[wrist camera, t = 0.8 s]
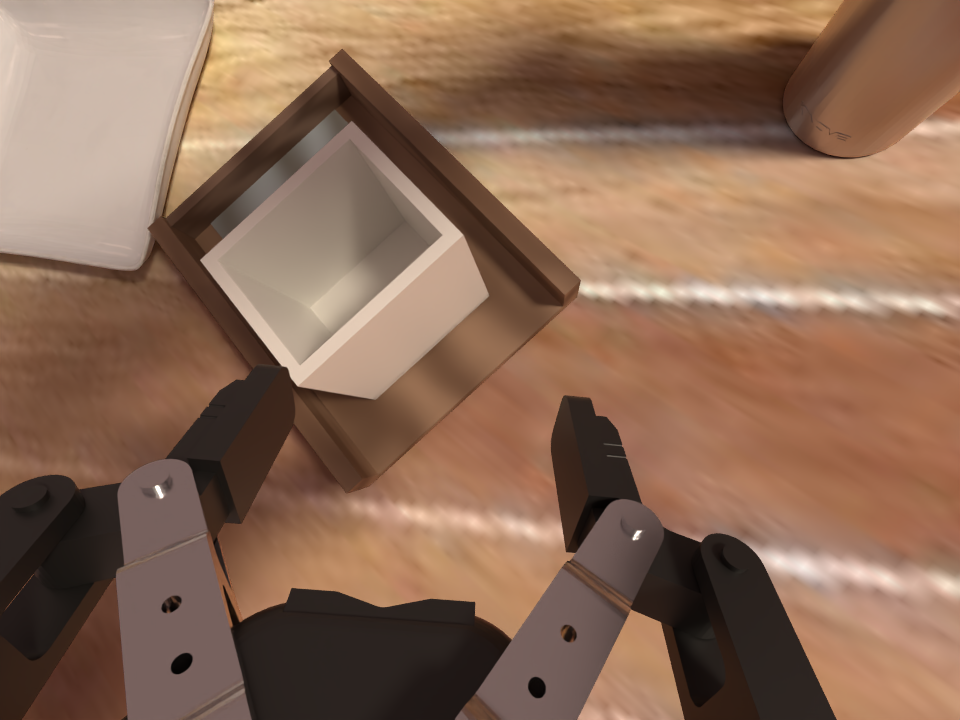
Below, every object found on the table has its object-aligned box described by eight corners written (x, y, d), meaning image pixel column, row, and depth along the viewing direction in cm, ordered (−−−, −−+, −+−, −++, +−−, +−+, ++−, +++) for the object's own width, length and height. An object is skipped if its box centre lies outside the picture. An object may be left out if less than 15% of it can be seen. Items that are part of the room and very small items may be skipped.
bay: (362, 85, 40) (342, 48, 36) (577, 297, 34) (580, 280, 30) (185, 247, 40) (147, 228, 37) (369, 486, 35) (346, 493, 31)
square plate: (241, 24, 44) (212, -14, 40) (173, 285, 41) (135, 270, 37) (24, 22, 49) (-20, -12, 45) (-53, 257, 45) (-109, 242, 41)
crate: (409, 211, 36) (351, 120, 26) (489, 295, 34) (463, 234, 23) (302, 310, 36) (200, 260, 26) (375, 399, 34) (297, 386, 24)
